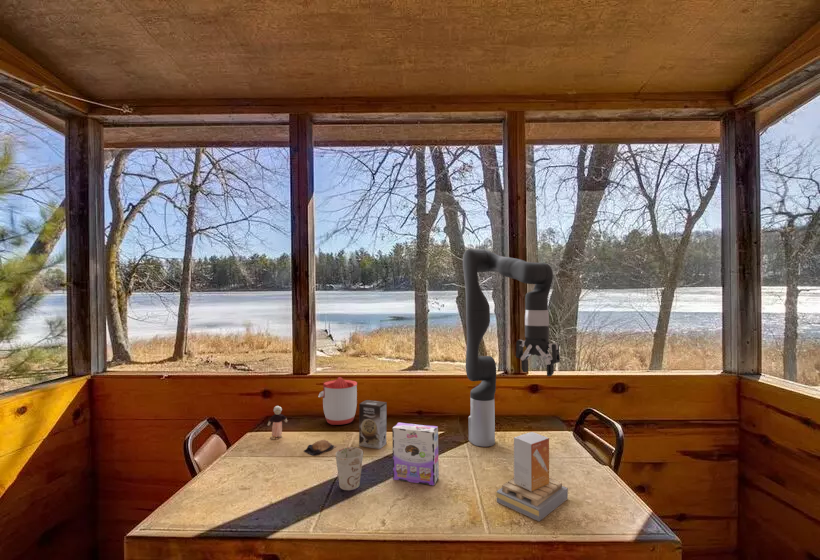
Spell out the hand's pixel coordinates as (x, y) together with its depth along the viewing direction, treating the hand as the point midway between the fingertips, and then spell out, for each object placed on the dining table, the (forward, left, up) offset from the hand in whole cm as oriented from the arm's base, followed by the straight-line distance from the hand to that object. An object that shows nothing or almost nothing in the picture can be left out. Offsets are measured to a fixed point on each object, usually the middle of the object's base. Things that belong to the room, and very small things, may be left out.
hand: (537, 373), depth 129 cm
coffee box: (-56, -24, -32) cm, 69 cm away
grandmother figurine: (-89, -47, -32) cm, 106 cm away
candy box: (-25, -31, -32) cm, 51 cm away
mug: (-38, -48, -32) cm, 69 cm away
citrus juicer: (-88, -19, -32) cm, 96 cm away
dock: (+7, -16, -32) cm, 37 cm away
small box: (+7, -16, -28) cm, 33 cm away
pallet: (+7, -16, -29) cm, 34 cm away
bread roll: (-66, -41, -33) cm, 85 cm away
